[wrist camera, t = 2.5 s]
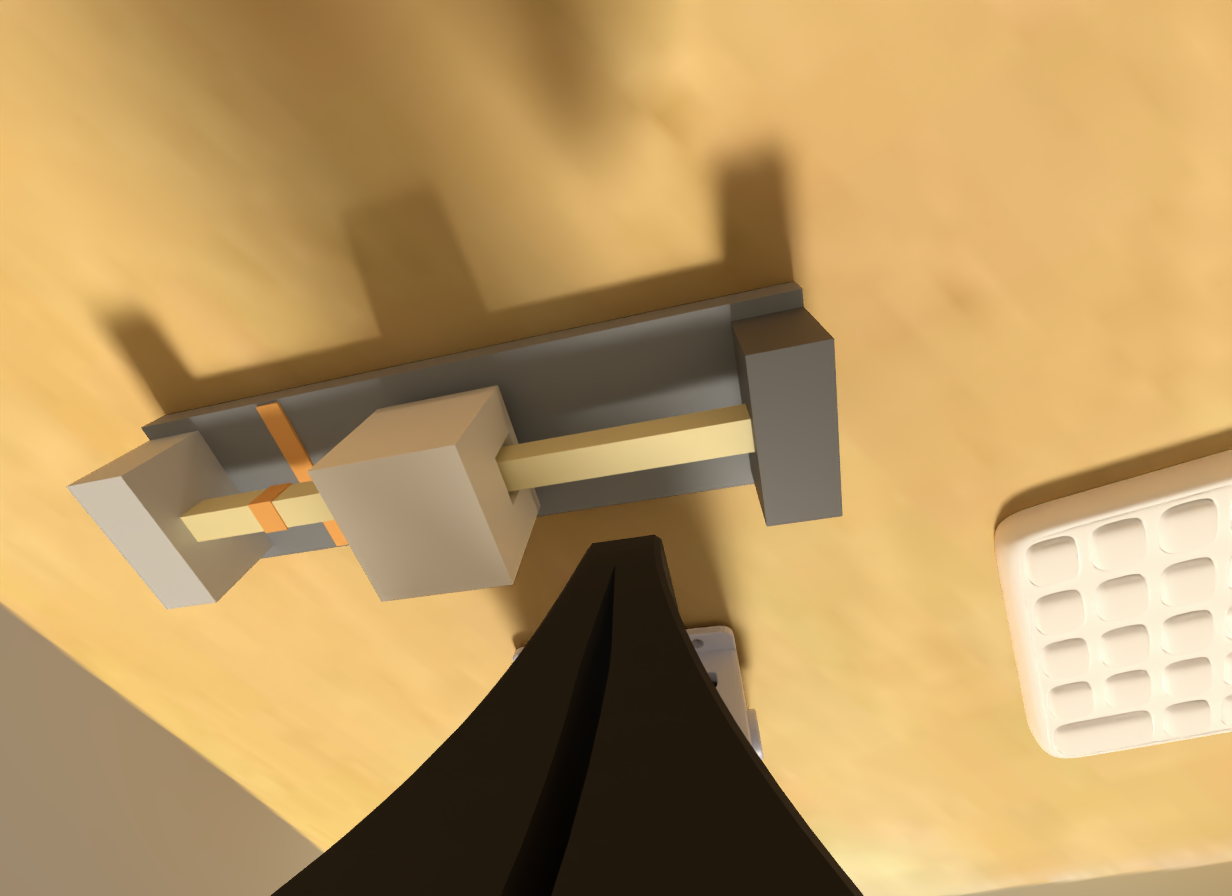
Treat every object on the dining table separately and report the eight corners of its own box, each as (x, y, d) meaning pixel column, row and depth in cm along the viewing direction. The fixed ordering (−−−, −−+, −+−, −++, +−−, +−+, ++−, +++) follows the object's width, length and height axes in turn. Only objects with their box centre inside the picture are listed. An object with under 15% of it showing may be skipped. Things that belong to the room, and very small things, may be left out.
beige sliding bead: (497, 384, 16) (454, 445, 13) (540, 505, 18) (513, 584, 15) (378, 409, 17) (307, 471, 13) (431, 522, 19) (381, 601, 15)
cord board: (794, 281, 16) (833, 317, 12) (807, 458, 18) (842, 530, 15) (164, 415, 19) (54, 472, 16) (253, 546, 22) (175, 619, 18)
